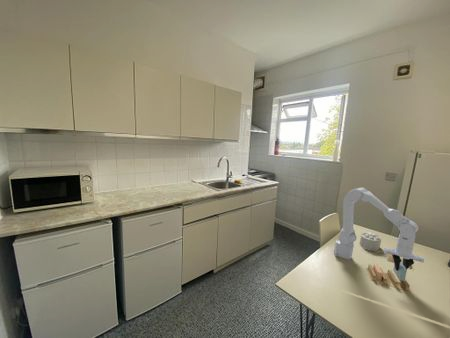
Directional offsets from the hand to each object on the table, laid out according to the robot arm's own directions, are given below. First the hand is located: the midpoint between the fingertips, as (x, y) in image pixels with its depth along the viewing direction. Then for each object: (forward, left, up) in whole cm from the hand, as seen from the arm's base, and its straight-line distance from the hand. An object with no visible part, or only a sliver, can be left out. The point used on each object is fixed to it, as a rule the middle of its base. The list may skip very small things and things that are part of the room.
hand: (399, 270), depth 93 cm
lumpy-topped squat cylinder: (-4, +37, -8) cm, 38 cm away
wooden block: (-8, 0, -6) cm, 11 cm away
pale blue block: (0, 0, -3) cm, 3 cm away
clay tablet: (+8, +24, -8) cm, 27 cm away
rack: (-4, 0, -7) cm, 8 cm away
